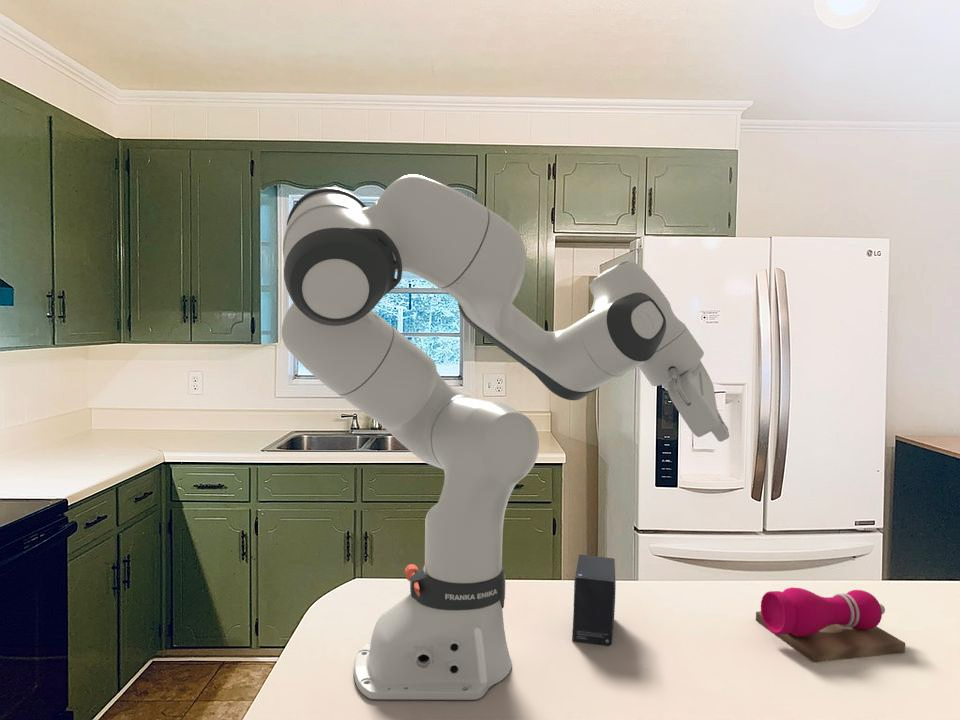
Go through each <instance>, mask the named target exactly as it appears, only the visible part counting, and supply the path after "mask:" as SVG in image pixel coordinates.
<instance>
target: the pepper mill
mask: <svg viewBox="0 0 960 720" xmlns="http://www.w3.org/2000/svg"><path fill="white" fill-rule="evenodd" d="M760 611H761V615H762V619H763V621H764V623H765V625H766V627H767V628H768V629H767V628H766V629H767V630H769V632H771V633H772V634H773V635H775V634H789V633H791V634H792V635H795V636H797V637H805V636H810V635H813V634H815V633H817V632H819V631H820V630H822V629H823V628H825V627H827V626H829V625H833V624H838V625H840V626H842V627H855V628H857V629H860V630H869V629H872V628H874V627H876V626H877V627H878V625H879V624H880V623H881V621H882V617H883V614H885V612H886V608H885V606H884V605H882V603H880V602H879V600H878V599H877V598H876V596H874V594H872V593H870V592H868V591H866V590H862V589H853V590H849V591H847V592H846V593H845V592H844V593H836V594H834V595H833V596H830V597H828V596H827V597H826V596H825V597H824V596H820V595H819V594H816V593H814V592H812V591H810V590H808V589H804V588H801V587H792V586H791V587H788V588H785V589H784V590H783V591H780V590H776V591H775V590H774V591H773V590H772V591H771V590H770V591H767V592H766V593H764V594H763V596H762V598H761V601H760Z"/></svg>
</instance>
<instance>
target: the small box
mask: <svg viewBox="0 0 960 720" xmlns="http://www.w3.org/2000/svg"><path fill="white" fill-rule="evenodd" d="M573 582H574V584H573V585H574V586H573V587H574V588H573V617H572V632H571V633H572V636H571V641H572V642H578V643H587V644H594V645H595V644H596V645H603V646H611V645H612V643H613V634H614V623H615V611H616V608H615V607H616V592H617V591H616V587H617V585H616V584H617V583H616V560H615V558H613V557H606V556H595V555H586V554H578V558H577V561H576V567H575V574H574V581H573Z"/></svg>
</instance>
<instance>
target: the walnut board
mask: <svg viewBox="0 0 960 720" xmlns="http://www.w3.org/2000/svg"><path fill="white" fill-rule="evenodd" d="M755 621H756V622H757V623H758V624H760V625H761V626H763V627H764V628H766V629H767V630H768V628H767V627H766V625H765V623H764V621H763V619H762V615H761V610H760V611H755ZM774 635H775V636H776V637H778V638H779V639H780V640H782V642H785V643H786V644H787V645H788V646H790V647H791V648H793V649H794V650H795V651H796V652H798V653H800V655H802V656H804V657H805V658H806V659H808V660H809V661H810V662H812V663H819V662H829V661H831V662H832V661H839V660H847V659H855V658H856V659H857V658H858V659H859V658H866V657H876V656H885V655H895V654H896V655H897V654H904V653H906V642H904V641H903V640H901V639H899V638H898V637H896V636H895V635H893V634H891V633H889V632H888V631H885V630H884V629H882V628H881V627H878V625H877V626H876V627H874V628H872V629H869V630H860V629H857V628H855V627H842V626H840V625H838V624H833V625H829V626H827V627H825V628H823V629H822V630H820V631H819V632H817V633H815V634H813V635H810V636H805V637H797V636H795V635H792V634H791V633H789V634H774Z"/></svg>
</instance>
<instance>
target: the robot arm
mask: <svg viewBox="0 0 960 720" xmlns="http://www.w3.org/2000/svg"><path fill="white" fill-rule="evenodd" d="M282 241H283V242H282V254H283V260H284V261H283V263H284V266H283V278H284V284H285V285H284V286H285V287H286V291H287V293H288V295H289V296H290V299H291V301H292V302H293V303H292V304H291V305H290V307H289V308H288V310H287V311H286V314H285V315H284V318H283V321H282V324H281V325H282V326H281V337H282V338H281V339H282V342H283V344H284V345H285V347H286V349H287V350H288V351H289V352H290V353H291V354H292V356H294V358H295V359H296V360H297V361H298V362H299V363H300V364H301V365H302V366H303V367H304V368H305V369H306V370H308V372H309V373H310V374H312V375H313V376H314V377H315V378H316V379H317V380H319V381H320V382H321V383H322V384H323V385H325V386H326V387H327V388H329V389H330V390H332V392H335V394H337V395H339V397H341V398H342V399H344V400H346V401H347V402H349V403H350V404H351V405H352V406H354V407H356V409H358V410H359V411H361V412H362V413H364V414H365V415H367V416H368V417H369V418H371V419H373V420H374V421H375V422H376V423H378V424H380V425H381V426H382V427H383V428H384V429H385V430H386V431H387V432H389V433H390V434H391V435H392V436H393V438H395V440H397V441H398V442H399V443H400V445H402V446H404V447H405V448H406V449H408V450H409V452H411V453H412V454H413V455H415V456H416V458H418V459H419V460H421V461H422V462H423V463H425V464H428V465H430V466H432V467H436V468H439V469H442V470H443V471H444V472H443V473H444V480H443V481H444V482H443V486H442V489H441V493H440V495H439V500H438V501H437V503H436V504H434V505H433V506H431V508H429V510H428V512H427V514H426V516H425V520H424V522H425V523H424V528H425V530H424V565H423V566H422V567H421V568H420V569H419V568H418V566H417V565H416V564H413V563H412V564H411V563H410V564H408V565H406V567H405V568H404V575H405V578H406V580H407V581H409V584H410V585H409V588H410V591H409V594H407V596H405V597H404V598H402V600H400V601H399V602H397V603H396V604H395V605H393V606H392V607H390V608H389V609H388V610H387V611H385V612H384V613H383V614H381V615H380V616H379V617H378V619H377V621H376V622H375V625H374V628H373V631H372V635H371V639H370V642H369V643H366V644H364V645H362V647H361V648H360V649H359V650H358V652H357V653H356V656H355V659H354V664H353V665H354V666H353V677H354V682H355V684H356V687H357V688H358V690H359V691H360V693H361V694H362V695H364V696H365V697H367V698H368V699H371V700H435V701H436V700H440V701H441V700H443V701H444V700H449V701H450V700H458V701H459V700H460V701H461V700H462V701H463V700H464V701H465V700H467V701H468V700H469V701H471V700H472V701H473V700H479V699H481V698H483V696H485V694H486V693H487V692H488V690H489V689H490V688H491V687H492V686H493V685H495V684H498V683H499V682H501V681H502V680H504V679H505V678H506V677H507V676H508V675H509V673H510V672H511V670H512V658H511V656H510V652H509V648H508V644H507V638H506V631H505V624H504V614H503V612H504V611H503V609H504V607H505V599H506V576H505V569H504V568H503V565H502V563H503V537H504V536H503V535H504V532H503V531H504V522H505V520H504V519H505V514H506V509H507V507H508V506H507V505H508V502H509V499H510V497H511V495H512V492H513V490H514V488H515V486H516V485H517V484H518V483H519V482H520V481H521V480H523V479H524V478H525V477H527V475H528V474H529V473H530V472H531V471H532V469H533V468H534V466H535V464H536V461H537V459H538V456H539V450H540V449H539V448H540V439H539V433H538V430H537V428H536V425H535V424H534V423H533V421H532V420H531V419H530V418H529V417H528V416H526V415H525V414H523V413H522V412H520V411H518V410H517V409H514V408H513V407H512V406H509V405H507V404H505V403H503V402H500V401H499V402H498V401H493V400H490V399H489V400H488V399H483V398H478V397H474V396H470V395H467V394H465V393H462V392H460V391H458V390H456V389H454V388H453V387H452V386H450V385H449V384H448V383H447V382H446V381H445V379H444V378H443V377H442V376H441V375H440V374H439V372H438V371H437V365H436V363H435V361H434V360H433V358H432V357H430V355H428V353H425V351H423V350H422V349H421V348H420V347H418V346H417V344H415V343H414V342H413V341H411V340H410V339H408V338H407V337H406V336H405V335H403V334H402V332H401V331H399V330H397V328H395V327H394V326H393V325H392V324H390V323H389V322H388V321H386V320H385V319H384V318H383V317H381V316H380V315H379V314H378V313H376V312H375V311H374V310H373V309H374V308H375V307H376V306H377V305H378V304H379V303H380V301H381V300H382V298H383V297H385V296H386V295H387V294H388V293H390V292H391V291H392V290H393V289H395V288H396V287H397V286H398V285H399V284H400V282H401V280H402V277H403V272H406V273H407V272H409V273H411V274H413V275H416V276H418V277H420V278H422V279H424V280H425V281H427V282H429V283H431V284H432V285H434V286H435V287H437V288H439V289H441V290H442V291H444V292H446V293H447V294H449V295H450V296H451V297H453V298H454V299H455V301H457V307H458V309H459V313H460V314H461V316H462V318H463V319H464V320H465V321H466V322H467V323H468V324H469V325H470V326H471V327H472V328H473V329H474V330H475V331H476V332H478V333H479V334H480V335H481V336H483V337H484V338H486V339H487V340H488V341H489V342H491V343H492V344H494V345H495V346H496V347H498V348H499V349H500V350H501V351H503V352H504V353H506V354H507V355H508V356H510V357H511V358H513V359H514V360H515V361H517V362H518V363H519V364H521V366H524V368H526V369H527V370H528V371H529V372H531V373H532V374H533V375H535V377H536V378H538V380H539V381H540V382H541V383H542V384H543V386H544V387H545V388H547V389H548V390H549V391H550V392H551V393H552V394H553V395H556V396H558V397H560V398H561V399H564V400H566V401H567V400H568V401H579V400H582V399H584V398H585V397H587V396H589V395H590V394H592V393H593V392H595V391H596V390H598V389H599V388H600V387H602V386H604V385H606V384H609V383H610V382H612V381H614V380H616V379H618V378H620V377H622V376H624V375H625V374H627V373H629V372H631V371H633V370H635V369H637V368H639V369H640V371H641V372H642V374H643V375H644V377H645V378H646V380H648V382H649V384H650V386H652V387H658V386H662V387H663V389H664V390H665V391H667V392H668V395H669V398H670V400H671V401H672V403H673V405H674V407H675V408H676V410H677V411H678V413H679V415H680V416H681V418H682V419H683V421H684V423H686V425H687V427H688V429H689V430H690V431H691V432H692V434H694V436H695V437H697V438H701V437H703V436H705V435H707V434H709V433H712V434H713V435H714V437H715V438H716V440H717V441H718V442H724V441H726V440H728V439H729V438H730V431H729V428H728V426H727V425H726V423H725V422H724V420H723V418H722V416H721V414H720V413H719V410H718V406H717V401H716V395H715V388H714V383H713V382H712V379H711V377H710V375H709V373H708V372H707V369H706V368H705V366H704V364H703V363H702V361H701V359H702V358H703V356H704V354H705V352H704V350H703V349H702V348H701V346H700V344H699V343H698V341H697V340H696V338H695V337H694V336H693V334H692V333H691V331H690V329H688V328H687V326H686V324H685V323H684V322H683V321H681V320H680V319H679V318H678V317H677V316H676V315H675V314H674V313H675V312H674V311H673V309H672V306H671V303H670V301H669V300H668V298H667V297H666V295H665V294H664V292H663V291H662V290H661V288H660V287H659V286H658V284H657V283H656V282H655V281H654V280H653V278H652V277H651V276H650V275H649V274H648V273H647V272H646V271H645V270H644V268H642V267H641V266H640V265H639V264H638V263H636V262H635V261H633V260H632V261H631V260H629V261H623V262H619V263H618V264H615V265H614V266H612V267H610V268H608V269H606V270H604V271H603V272H602V273H600V274H598V275H597V276H595V278H593V279H592V281H591V282H590V284H589V286H588V287H589V289H590V293H591V294H592V297H593V301H592V302H593V303H592V305H591V308H590V310H589V313H588V314H587V315H586V316H584V317H583V318H581V319H579V320H577V321H576V322H574V323H572V324H571V325H569V326H568V327H566V328H564V329H560V330H555V331H548V330H545V329H544V328H542V327H541V326H540V325H539V324H538V323H536V322H535V321H533V320H532V319H531V318H530V317H528V316H527V315H526V314H525V313H523V312H522V311H521V310H520V309H518V308H517V307H516V306H515V305H514V304H513V303H514V301H515V299H516V297H517V296H518V294H519V291H520V289H521V286H522V283H523V280H524V276H525V273H526V272H525V271H526V264H527V263H526V262H527V256H526V254H527V253H526V248H525V245H524V242H523V240H522V237H521V234H520V232H518V231H517V229H516V228H515V227H514V226H513V225H512V224H511V223H509V222H508V221H507V220H506V219H505V218H503V217H502V216H500V215H499V214H498V213H496V212H494V211H492V210H491V209H489V208H488V207H487V206H485V205H483V204H481V203H480V202H478V201H476V200H475V199H474V198H471V197H470V196H468V195H466V194H464V193H462V192H460V191H458V190H456V189H453V188H452V187H450V186H448V185H446V184H443V183H440V182H438V181H437V180H434V179H431V178H428V177H425V176H423V175H419V174H407V175H403V176H401V177H399V178H398V179H395V180H394V181H393V182H392V183H391V184H389V185H388V186H387V187H386V188H385V190H384V191H382V194H381V195H380V196H379V198H378V200H377V201H375V202H374V203H373V204H372V205H369V206H366V204H365V203H364V202H363V201H362V200H361V199H360V198H359V197H357V196H356V195H355V194H353V193H351V192H350V191H348V190H346V189H342V188H338V187H334V186H332V187H331V186H324V187H319V188H315V189H313V190H310V191H308V192H307V193H305V194H304V195H302V196H301V197H300V198H299V199H298V200H297V201H296V203H294V205H293V207H292V208H291V210H290V212H289V214H288V217H287V220H286V228H285V230H284V235H283V240H282ZM395 276H396V277H395Z"/></svg>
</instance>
